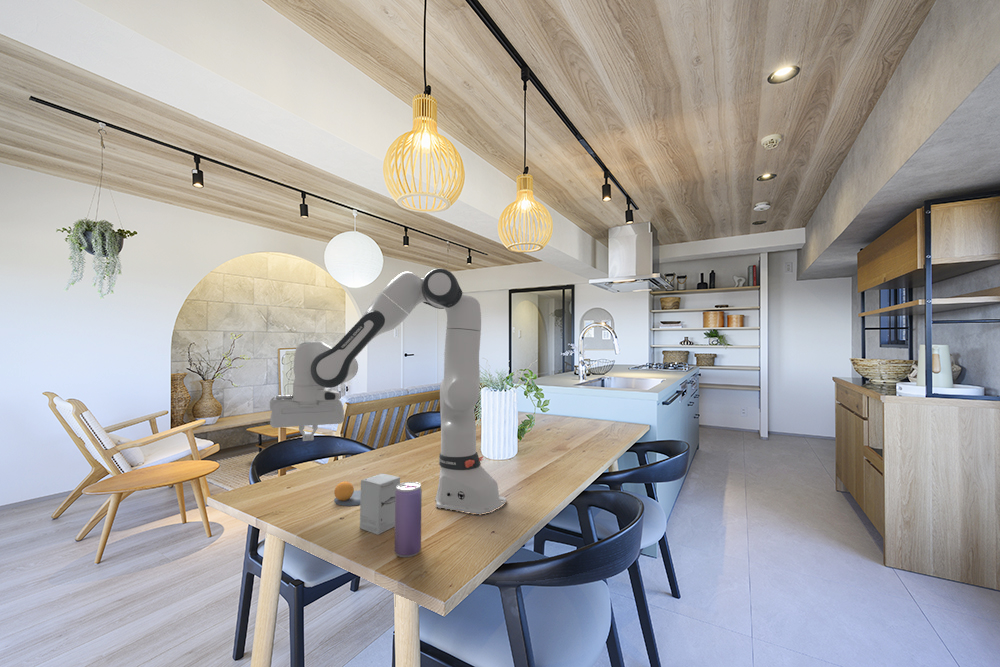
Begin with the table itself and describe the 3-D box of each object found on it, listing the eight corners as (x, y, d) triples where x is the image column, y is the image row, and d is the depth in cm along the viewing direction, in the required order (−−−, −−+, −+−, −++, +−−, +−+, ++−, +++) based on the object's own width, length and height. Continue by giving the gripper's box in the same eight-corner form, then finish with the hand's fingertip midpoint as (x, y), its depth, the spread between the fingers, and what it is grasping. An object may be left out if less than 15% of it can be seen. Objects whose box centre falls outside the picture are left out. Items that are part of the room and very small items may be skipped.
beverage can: (414, 559, 89) (415, 491, 90) (389, 556, 90) (390, 489, 91) (425, 546, 95) (425, 482, 95) (401, 544, 96) (402, 480, 97)
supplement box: (378, 535, 101) (379, 484, 101) (359, 528, 104) (359, 479, 105) (400, 524, 107) (400, 476, 107) (381, 518, 111) (381, 472, 111)
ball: (335, 479, 123) (327, 496, 122) (349, 488, 121) (341, 506, 121) (346, 476, 128) (339, 493, 128) (360, 485, 126) (352, 502, 126)
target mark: (386, 496, 128) (386, 495, 128) (351, 509, 117) (351, 508, 117) (361, 488, 135) (361, 487, 135) (325, 499, 124) (325, 499, 124)
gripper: (268, 396, 115) (267, 445, 115) (344, 394, 123) (344, 439, 122) (271, 394, 121) (270, 441, 120) (344, 392, 129) (343, 435, 128)
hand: (308, 440), depth 122 cm, fingers closed
